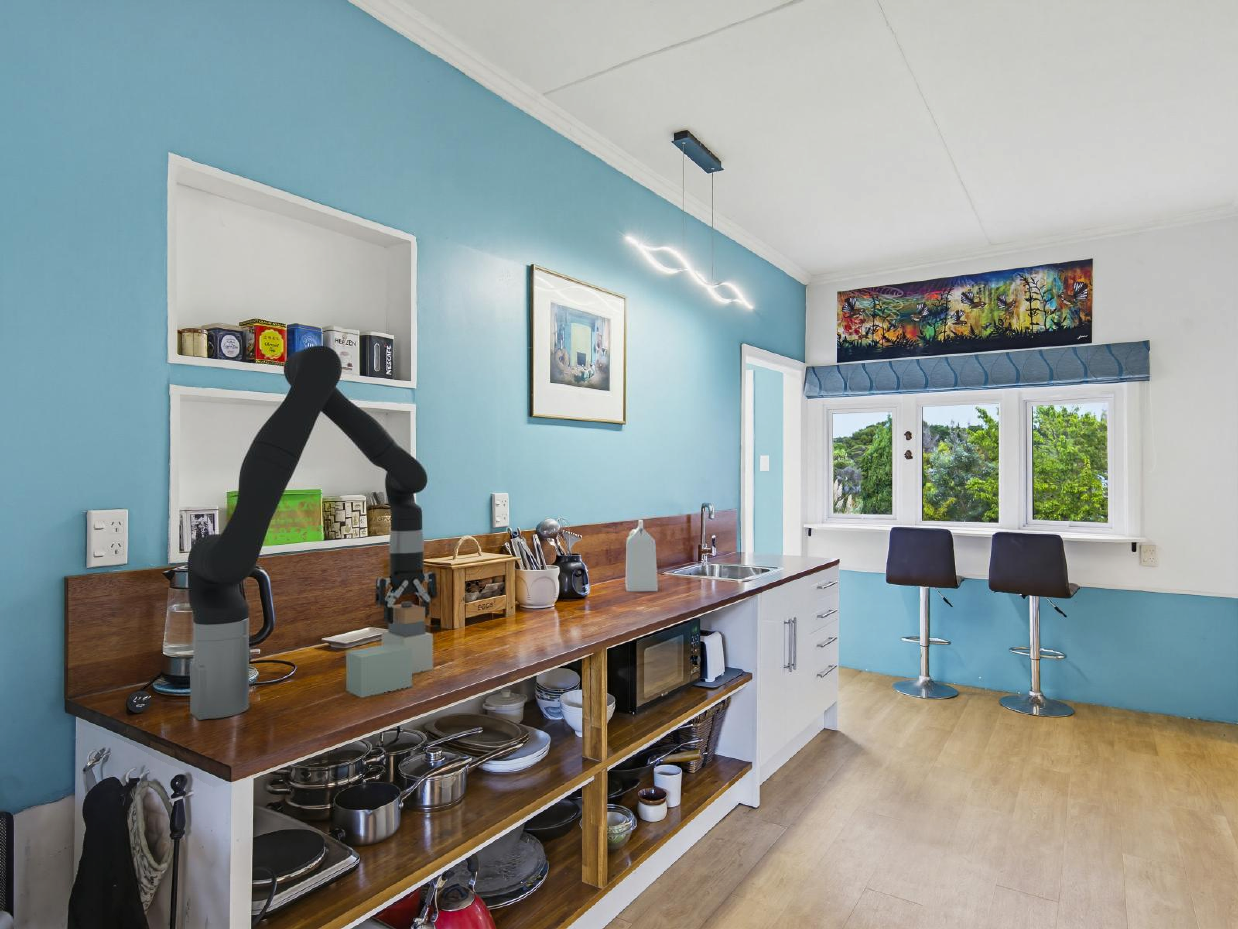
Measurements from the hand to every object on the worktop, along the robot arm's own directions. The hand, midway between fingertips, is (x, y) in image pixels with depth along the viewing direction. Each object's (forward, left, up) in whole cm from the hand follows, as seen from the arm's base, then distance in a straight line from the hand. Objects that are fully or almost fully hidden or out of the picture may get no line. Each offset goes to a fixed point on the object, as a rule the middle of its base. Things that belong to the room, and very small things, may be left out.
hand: (406, 620), depth 170 cm
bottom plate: (0, 0, -3) cm, 3 cm away
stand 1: (-12, -11, -11) cm, 20 cm away
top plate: (0, 0, 0) cm, 0 cm away
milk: (+119, +42, -11) cm, 127 cm away
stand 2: (0, 0, -11) cm, 11 cm away
